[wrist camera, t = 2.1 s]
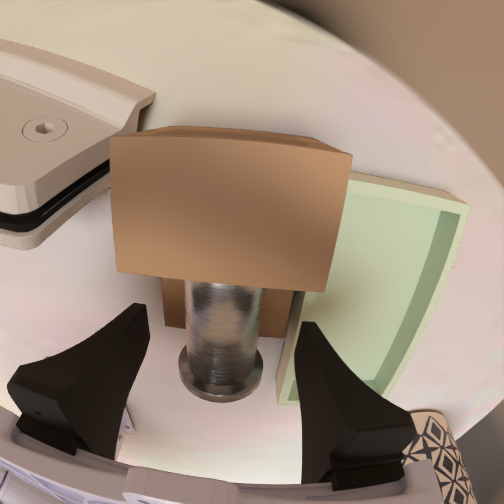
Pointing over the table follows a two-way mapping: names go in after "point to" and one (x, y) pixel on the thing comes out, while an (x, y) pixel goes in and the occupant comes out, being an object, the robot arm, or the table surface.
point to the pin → (221, 340)
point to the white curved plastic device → (56, 138)
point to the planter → (440, 457)
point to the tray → (379, 280)
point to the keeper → (227, 212)
